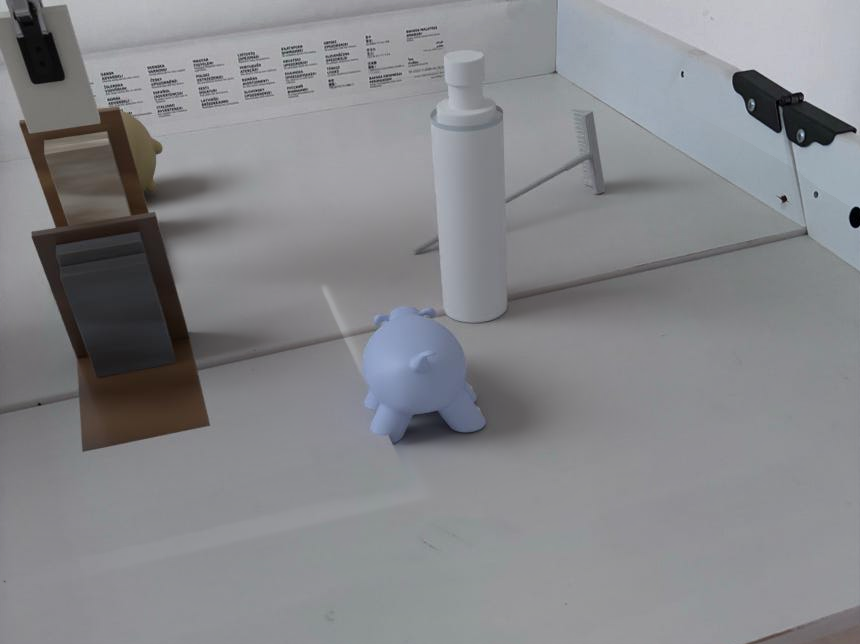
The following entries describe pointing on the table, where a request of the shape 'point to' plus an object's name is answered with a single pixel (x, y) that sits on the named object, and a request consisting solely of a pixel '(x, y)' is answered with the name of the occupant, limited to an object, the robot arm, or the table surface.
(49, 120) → the white book
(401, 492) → the table surface
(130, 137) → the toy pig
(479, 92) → the spray bottle
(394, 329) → the hippopotamus toy
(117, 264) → the stand
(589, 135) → the grey toy rake
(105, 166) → the wooden bookshelf
